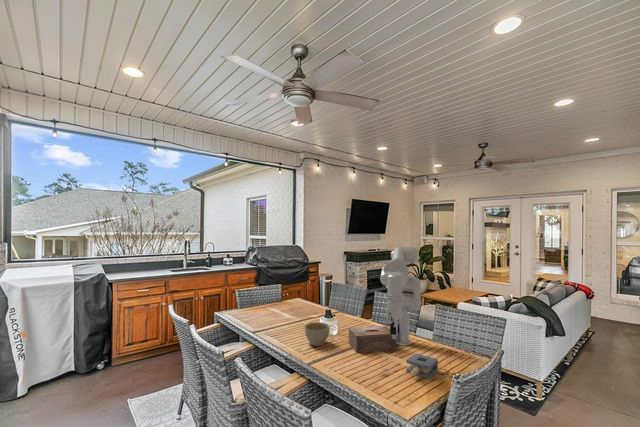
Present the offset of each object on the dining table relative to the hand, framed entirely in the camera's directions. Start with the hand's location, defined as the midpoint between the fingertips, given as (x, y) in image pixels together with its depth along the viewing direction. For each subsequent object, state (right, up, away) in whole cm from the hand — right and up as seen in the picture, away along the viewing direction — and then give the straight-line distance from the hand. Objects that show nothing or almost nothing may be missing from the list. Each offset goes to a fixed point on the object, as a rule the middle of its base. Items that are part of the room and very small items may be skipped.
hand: (394, 333), depth 163 cm
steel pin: (0, -3, 0) cm, 3 cm away
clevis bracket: (+12, -19, -4) cm, 23 cm away
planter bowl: (-41, -20, +35) cm, 58 cm away
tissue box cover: (-7, -21, +32) cm, 39 cm away
